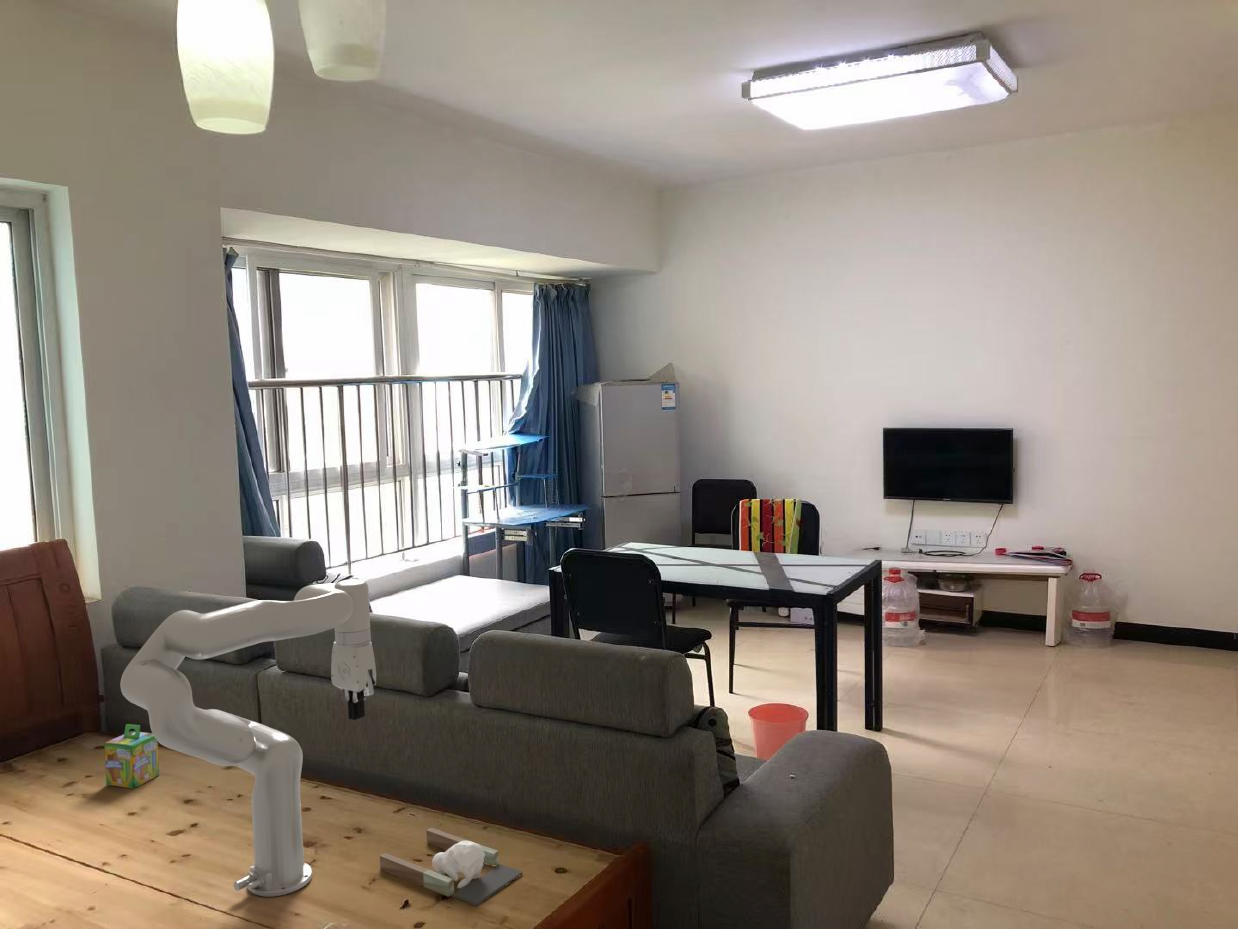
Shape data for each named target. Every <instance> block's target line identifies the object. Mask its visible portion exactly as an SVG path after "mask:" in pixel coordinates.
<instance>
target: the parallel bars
mask: <svg viewBox="0 0 1238 929" xmlns="http://www.w3.org/2000/svg"><path fill="white" fill-rule="evenodd" d="M461 841H470V840H468V839H465V838H462V837H460V836H456V835H453V834H451V833H447V832H446V831H442V830H439V829H437V828H434V827H430V828H428V829H426V843H427V842H428V843H430V844H429V845H431V844H432V845H431V846H434V847H436V846H438V847H437V848H439V847H441V848H440V849H442V848H443V849H442V850H445V851H447V850H448V849H449V848H451V847H452V846H453V845H455V844H457V843H459V842H461ZM428 843H427V844H428ZM475 843H476V844H479V845H480V846H481V848H482V850H483V852H484V854H485V857H484V863H487V864H489V865H497V864H498V863H499V862H500V858H499V850H497V849H494V848H491V847H488V846H485V845H482V844H480V843H477V842H475ZM499 864H500V863H499ZM489 865H488V866H489ZM379 866H380V867H379V869H380V870H381V871H383V872H386V873H388V874H391V875H394V876H396V877H399V878H401V879H403V880H406V881H409V882H410V883H413V884H416V885H419V886H421V887H423V888H426V889H429V890H431V891H433V892H436V893H439V894H440V895H443V896H446V897H450V896H453V895H454V894H455V888H454V887H455V886H454V884H455V883H454V881H455V880H454V879H452V878H451V877H450V876H446V875H445V874H444V875H443V874H439V873H436V872H435V871H433V870H431V869H429V868H426V867H423V866H421V865H418V864H415V863H413V862H410V861H407V860H406V859H402V858H399V857H397V856H394V855H392V854H390V853H386V852H384V853H382V854H380V855H379ZM497 866H498V865H497Z"/></svg>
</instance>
